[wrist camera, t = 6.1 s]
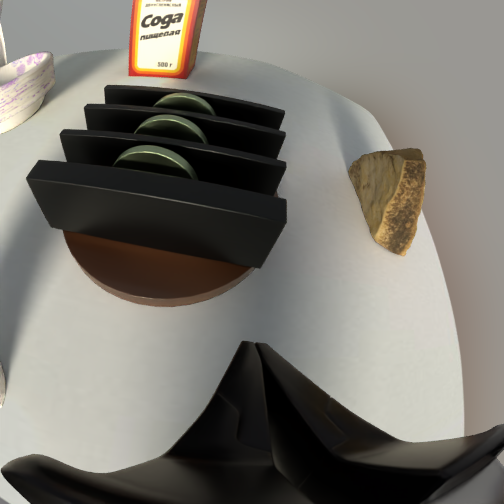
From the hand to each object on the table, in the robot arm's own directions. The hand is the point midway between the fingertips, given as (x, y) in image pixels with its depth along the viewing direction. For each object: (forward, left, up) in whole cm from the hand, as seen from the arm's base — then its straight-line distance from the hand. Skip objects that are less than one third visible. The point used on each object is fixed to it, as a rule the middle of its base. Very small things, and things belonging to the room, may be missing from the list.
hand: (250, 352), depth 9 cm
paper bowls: (+15, +41, -9) cm, 44 cm away
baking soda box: (+35, +26, -9) cm, 44 cm away
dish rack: (+10, +9, -7) cm, 15 cm away
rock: (+21, -9, -9) cm, 24 cm away
